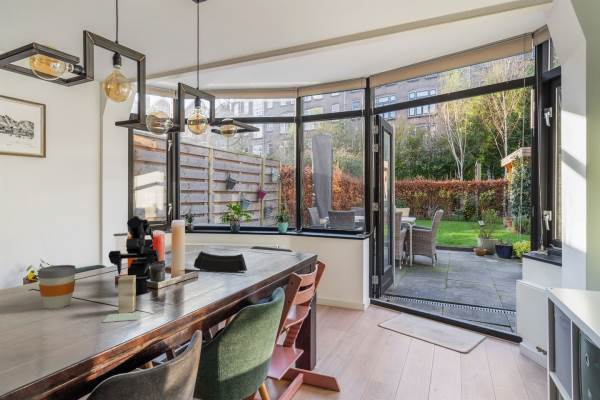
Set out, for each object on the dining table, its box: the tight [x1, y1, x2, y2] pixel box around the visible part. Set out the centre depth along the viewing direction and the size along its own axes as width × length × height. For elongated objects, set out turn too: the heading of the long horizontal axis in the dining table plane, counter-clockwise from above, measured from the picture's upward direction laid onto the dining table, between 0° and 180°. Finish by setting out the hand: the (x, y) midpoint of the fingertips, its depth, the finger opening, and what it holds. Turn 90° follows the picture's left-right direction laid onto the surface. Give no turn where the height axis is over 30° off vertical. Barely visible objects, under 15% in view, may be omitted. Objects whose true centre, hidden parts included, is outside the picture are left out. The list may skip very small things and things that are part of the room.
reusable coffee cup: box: [37, 264, 77, 309], centre depth 140 cm, size 13×13×15 cm
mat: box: [102, 311, 142, 323], centre depth 127 cm, size 8×11×1 cm
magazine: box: [193, 250, 248, 273], centre depth 203 cm, size 18×3×31 cm
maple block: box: [117, 275, 137, 314], centre depth 134 cm, size 5×5×13 cm
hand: (131, 273), depth 142 cm, fingers open, 9 cm apart
